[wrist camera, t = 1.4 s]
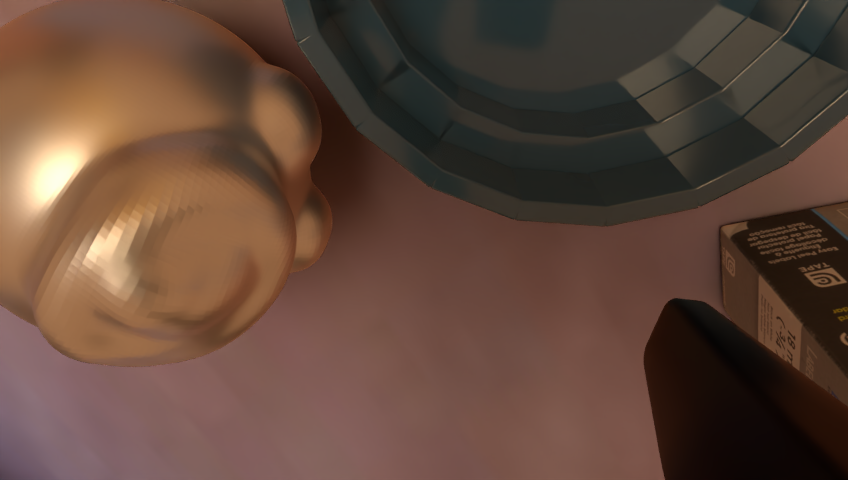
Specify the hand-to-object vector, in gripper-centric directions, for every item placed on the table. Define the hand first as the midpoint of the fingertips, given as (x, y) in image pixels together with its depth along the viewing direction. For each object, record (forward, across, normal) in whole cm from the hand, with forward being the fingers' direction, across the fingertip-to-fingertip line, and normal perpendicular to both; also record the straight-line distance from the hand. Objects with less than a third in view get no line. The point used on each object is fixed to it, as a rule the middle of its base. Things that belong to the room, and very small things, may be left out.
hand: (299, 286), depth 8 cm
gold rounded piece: (+14, +5, +5) cm, 15 cm away
